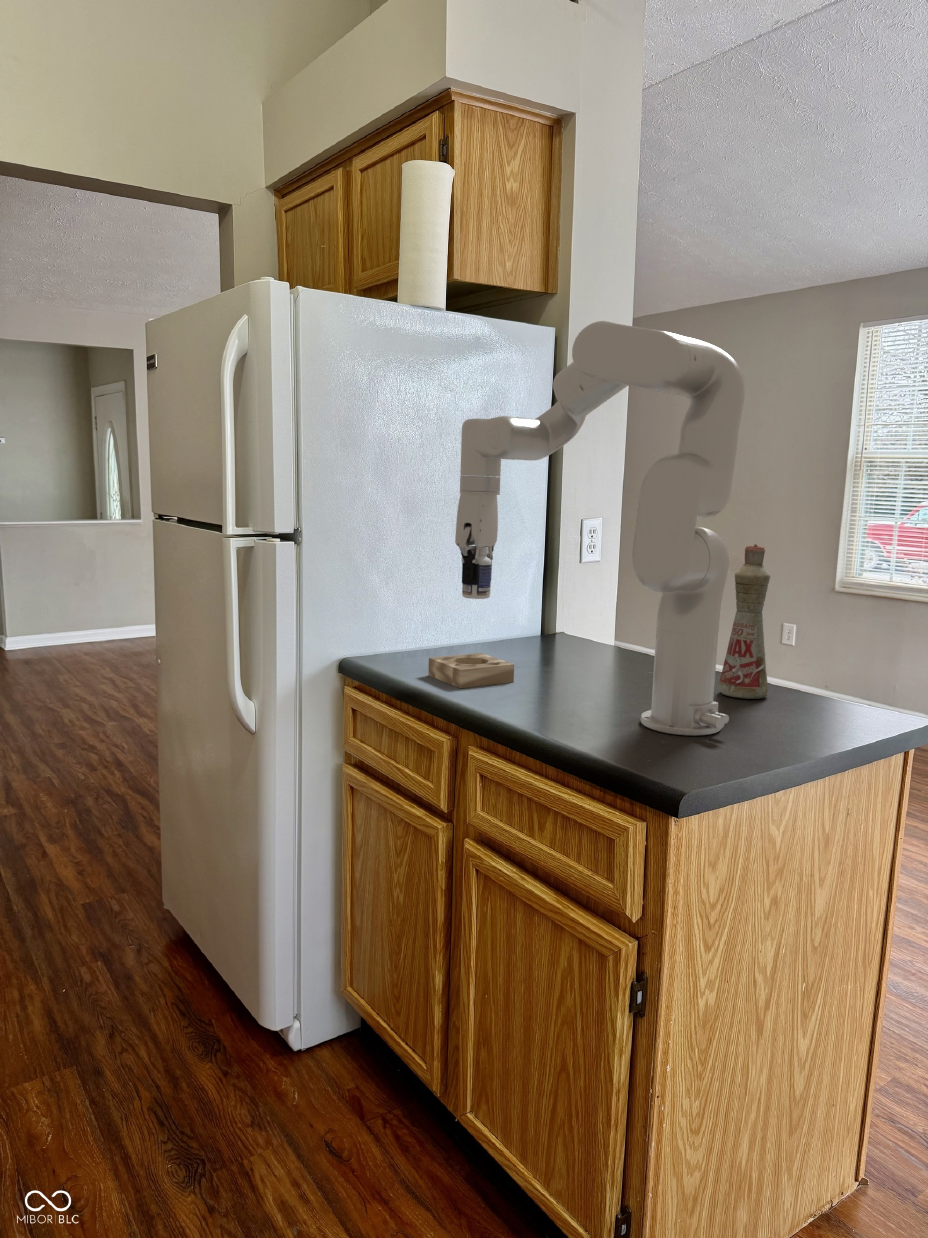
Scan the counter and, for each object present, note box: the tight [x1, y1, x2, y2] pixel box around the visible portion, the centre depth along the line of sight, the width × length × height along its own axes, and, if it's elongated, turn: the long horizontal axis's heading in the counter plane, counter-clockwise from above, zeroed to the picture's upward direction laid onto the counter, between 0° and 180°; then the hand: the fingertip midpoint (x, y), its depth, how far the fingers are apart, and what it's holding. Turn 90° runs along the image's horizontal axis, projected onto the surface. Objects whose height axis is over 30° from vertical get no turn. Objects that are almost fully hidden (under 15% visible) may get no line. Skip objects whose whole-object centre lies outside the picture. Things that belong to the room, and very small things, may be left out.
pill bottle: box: [461, 547, 492, 600], centre depth 167 cm, size 5×5×10 cm
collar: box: [427, 652, 515, 689], centre depth 170 cm, size 12×12×4 cm
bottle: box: [718, 543, 771, 700], centre depth 161 cm, size 9×9×28 cm
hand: (476, 581), depth 167 cm, fingers closed on pill bottle, 5 cm apart
